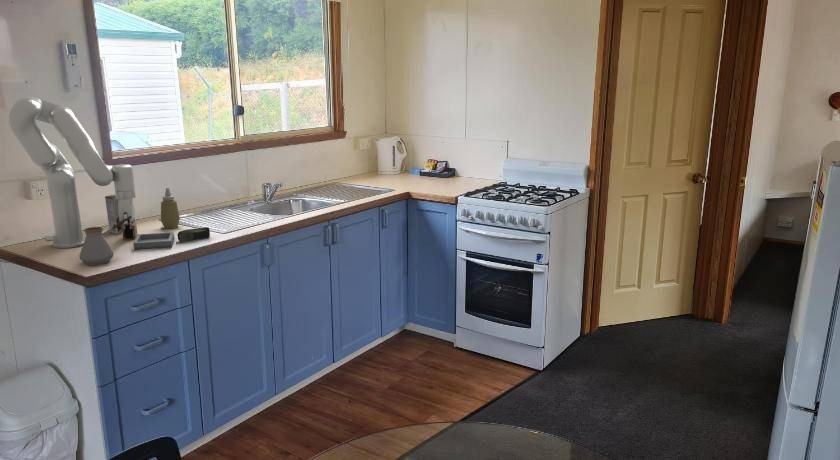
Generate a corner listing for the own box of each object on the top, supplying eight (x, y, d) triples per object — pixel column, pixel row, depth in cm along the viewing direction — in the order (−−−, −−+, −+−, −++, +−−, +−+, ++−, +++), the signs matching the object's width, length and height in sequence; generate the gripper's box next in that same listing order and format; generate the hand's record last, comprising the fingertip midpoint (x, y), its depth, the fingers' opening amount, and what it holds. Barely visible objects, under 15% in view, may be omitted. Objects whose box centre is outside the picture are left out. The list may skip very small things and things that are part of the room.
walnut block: (123, 240, 260) (121, 226, 258) (124, 237, 264) (123, 223, 263) (136, 239, 261) (134, 225, 260) (137, 236, 266) (136, 222, 264)
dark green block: (207, 225, 265) (173, 231, 255) (210, 227, 263) (176, 232, 253) (207, 237, 267) (174, 242, 256) (211, 238, 265) (177, 244, 254)
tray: (134, 250, 245) (133, 243, 245) (138, 241, 258) (137, 234, 258) (171, 247, 249) (171, 240, 249) (174, 238, 262) (173, 231, 262)
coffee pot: (90, 269, 223) (85, 228, 219) (74, 263, 229) (68, 224, 225) (145, 255, 240) (141, 217, 236) (128, 249, 246) (124, 213, 242)
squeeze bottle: (160, 226, 283) (156, 187, 278) (179, 224, 286) (175, 186, 282) (162, 230, 276) (158, 190, 271) (181, 228, 279) (178, 189, 275)
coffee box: (127, 227, 280) (123, 192, 276) (136, 229, 277) (132, 194, 272) (108, 231, 272) (104, 195, 268) (117, 233, 269) (113, 197, 265)
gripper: (118, 190, 265) (123, 231, 269) (112, 198, 249) (117, 242, 254) (137, 190, 267) (142, 230, 272) (132, 197, 251) (137, 241, 256)
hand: (130, 235), depth 263 cm, fingers closed on walnut block, 5 cm apart
